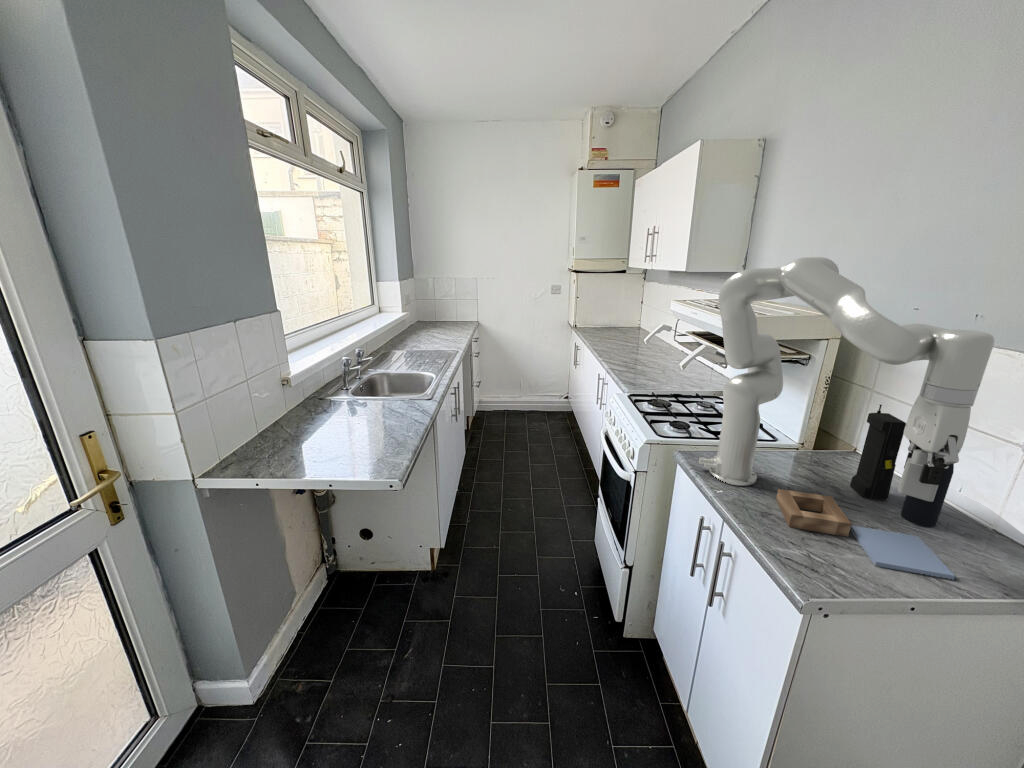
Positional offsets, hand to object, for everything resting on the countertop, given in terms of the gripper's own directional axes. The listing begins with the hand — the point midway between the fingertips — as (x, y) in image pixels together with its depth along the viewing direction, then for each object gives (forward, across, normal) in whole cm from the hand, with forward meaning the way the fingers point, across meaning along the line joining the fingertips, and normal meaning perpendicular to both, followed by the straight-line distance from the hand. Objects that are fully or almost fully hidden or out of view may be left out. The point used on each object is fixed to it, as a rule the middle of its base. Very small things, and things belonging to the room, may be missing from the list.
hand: (921, 475), depth 85 cm
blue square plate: (+19, 0, 0) cm, 19 cm away
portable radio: (+19, -26, +5) cm, 33 cm away
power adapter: (+5, 0, 0) cm, 5 cm away
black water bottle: (+19, -16, +11) cm, 27 cm away
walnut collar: (+19, -9, -14) cm, 25 cm away
